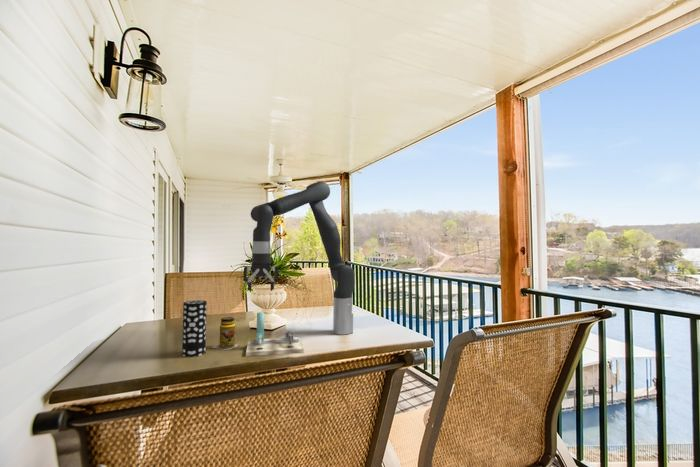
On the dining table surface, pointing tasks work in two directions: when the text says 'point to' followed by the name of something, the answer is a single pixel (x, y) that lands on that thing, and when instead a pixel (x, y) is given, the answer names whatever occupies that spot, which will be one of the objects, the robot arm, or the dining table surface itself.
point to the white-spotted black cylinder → (194, 328)
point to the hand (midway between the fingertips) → (260, 291)
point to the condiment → (227, 334)
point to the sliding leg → (260, 327)
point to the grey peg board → (275, 346)
